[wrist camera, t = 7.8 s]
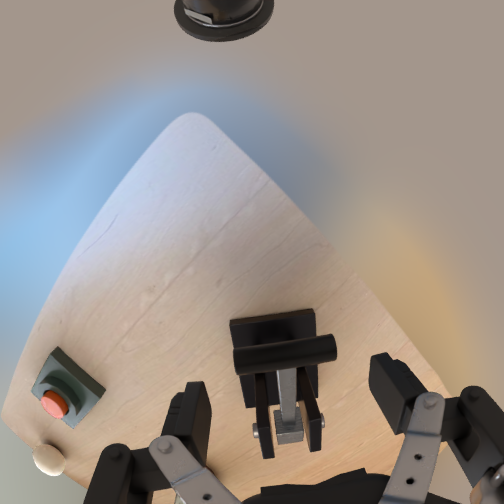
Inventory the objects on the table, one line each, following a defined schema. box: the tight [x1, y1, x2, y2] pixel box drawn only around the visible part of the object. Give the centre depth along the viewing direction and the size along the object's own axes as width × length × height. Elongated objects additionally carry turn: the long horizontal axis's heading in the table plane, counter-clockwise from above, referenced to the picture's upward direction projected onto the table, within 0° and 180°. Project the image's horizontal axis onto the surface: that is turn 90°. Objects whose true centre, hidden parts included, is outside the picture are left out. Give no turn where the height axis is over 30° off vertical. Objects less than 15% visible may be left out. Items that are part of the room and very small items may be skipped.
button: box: [41, 390, 68, 419], centre depth 29 cm, size 4×4×2 cm
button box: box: [31, 347, 106, 429], centre depth 31 cm, size 12×9×4 cm
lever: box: [233, 334, 337, 445], centre depth 18 cm, size 13×6×2 cm, turn 8°
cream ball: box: [33, 444, 65, 476], centre depth 34 cm, size 7×7×7 cm
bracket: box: [229, 309, 325, 459], centre depth 26 cm, size 12×9×13 cm
